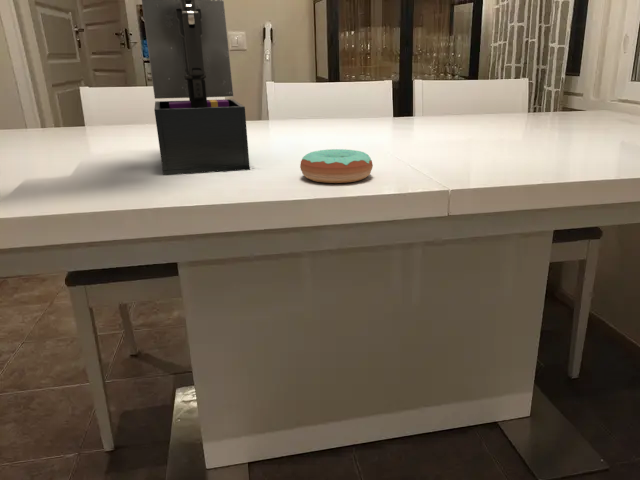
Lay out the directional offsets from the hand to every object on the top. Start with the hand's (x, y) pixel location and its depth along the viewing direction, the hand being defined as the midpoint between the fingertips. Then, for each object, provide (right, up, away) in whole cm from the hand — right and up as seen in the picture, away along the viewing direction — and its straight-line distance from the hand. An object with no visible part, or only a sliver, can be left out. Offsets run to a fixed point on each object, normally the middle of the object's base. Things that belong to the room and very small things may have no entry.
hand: (199, 117), depth 100 cm
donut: (+25, -12, -7) cm, 29 cm away
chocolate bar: (0, 0, 0) cm, 0 cm away
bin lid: (-4, +14, +5) cm, 16 cm away
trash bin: (-1, -7, +5) cm, 9 cm away
